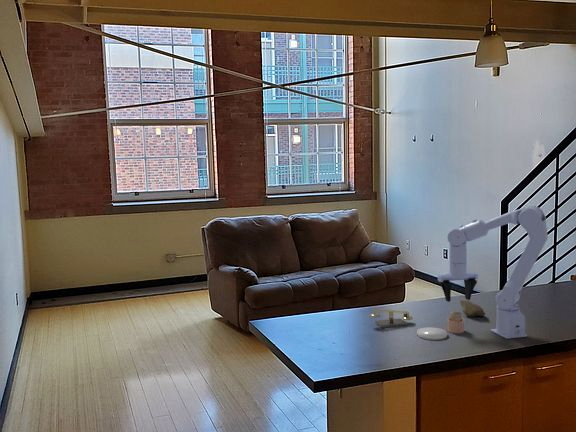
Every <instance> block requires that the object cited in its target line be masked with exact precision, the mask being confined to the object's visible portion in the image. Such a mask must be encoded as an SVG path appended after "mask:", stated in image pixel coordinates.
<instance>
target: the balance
mask: <svg viewBox="0 0 576 432" xmlns="http://www.w3.org/2000/svg"><path fill="white" fill-rule="evenodd" d="M372 311H373V312H372V313H369V314H368V317H369V318H379V317H381V314H380V313H376V312H384V313H388V319H379V320H375V321H374V324H375V325H377V326H378V327H380V328H381V329H384V328H394V327H395V328H396V326H397V327H404V326H403V325H407V326H408V322H407V321H411V320H413V319H414V317H413V316H411V315H410V311H403V310H393V309H392V310H391V309H384V308H383V309H380V308H372ZM395 313H396V314H403V316H401V318H400V317H399V318H394V314H395Z"/></svg>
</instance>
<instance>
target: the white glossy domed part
mask: <svg viewBox="0 0 576 432" xmlns="http://www.w3.org/2000/svg"><path fill="white" fill-rule="evenodd" d="M417 335H418V336H419V337H418V336H417ZM416 336H417V337H418V338H420V337H421V338H420V339H424V340H430V341H439V340H444V339H446V338H447V337H448V331H447V330H445V329H444V328H440V327H439V328H438V327H429V326H428V327H421V328H418V329H417V330H416Z"/></svg>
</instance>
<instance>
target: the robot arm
mask: <svg viewBox="0 0 576 432" xmlns="http://www.w3.org/2000/svg"><path fill="white" fill-rule="evenodd" d="M508 224H512V225H516V226H517V225H519V224H520V226H521V227H522V228H523V229H524V230H525V231H526V233H527V236H528V237H529V241H527V244H526V246H525V248H524V250H523V252H522V254H521V255H520V257H519V259H518V261H517V263H516V264H515V267H514V269H513V271H512V273H511V275H510V277H509V279H508V280H507V282H506V283H505V285H504V286H503V288H502V290H500V291H499V292H497V294H496V295H495V298H494V301H495V304H496V320H495V321H496V324H495V325H496V327H495V328H491V329H490V331H491V332H492V333H495V334H497V335H498V336H501V337H503V338H505V339H516V338H525V337H528V334H526V316H525V315H524V313H523V312H521V310H520V306H519V304H518V302H519V301H520V300H521V292H522V289H523V287H524V284H525V281H526V280H527V279H528V276H529V274H530V273H531V271H532V269H533V267H534V265H535V263H536V261H537V259H538V257H539V256H540V254H541V252H542V250H543V248H544V247H545V244H546V242H547V240H548V236H549V235H548V228H547V217H546V215H545V213H544V211H543V210H542V208H540V207H539V206H536V205H531V206H528V207H527V208H525V207H523V208H519V209H515V210H511V211H508V212H506V213H503V214H502V215H498V216H496V217H494V218H492V219H489V220H487V221H484V220H482V219H478V220H477V219H474V220H472V221H471V223H468V224H466V225H464V224H460V225H459V227H457V228H453V229H452V230H451V231H449V233H448V235H447V241H448V243H449V273H447V274H441V275H440V274H439V275H437V282H439V284H440V287H441V289H442V291H443V294H444V295H443V296H444V299H445V301H446V302H447V303H450V302H451V292H452V287H453V284H452V283H451V281H453V282H454V281H463V282H464V299H465V300H468V301H470V300H471V297H472V294H473V291H474V289H475V287H476V285H477V283H478V279H479V273H476V272H467V253H468V252H467V242H472V241H475V240H477V239H480V238H482V237H486V236H487V235H488V232H490V230H493V229H496V228H499V227H502V226H505V225H508Z"/></svg>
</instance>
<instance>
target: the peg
mask: <svg viewBox="0 0 576 432" xmlns="http://www.w3.org/2000/svg"><path fill="white" fill-rule="evenodd" d="M450 318H451V321H456V322H459V321H461V318H462V313H461V311H453V310H452V311H451V312H450Z"/></svg>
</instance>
